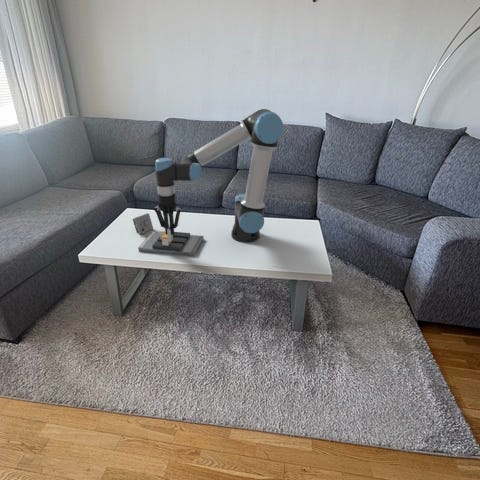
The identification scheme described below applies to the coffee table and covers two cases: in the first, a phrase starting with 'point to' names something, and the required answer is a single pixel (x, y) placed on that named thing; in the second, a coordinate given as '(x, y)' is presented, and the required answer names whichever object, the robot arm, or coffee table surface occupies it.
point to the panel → (183, 252)
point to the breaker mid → (162, 232)
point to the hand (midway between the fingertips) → (170, 240)
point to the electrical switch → (143, 223)
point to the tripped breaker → (165, 240)
